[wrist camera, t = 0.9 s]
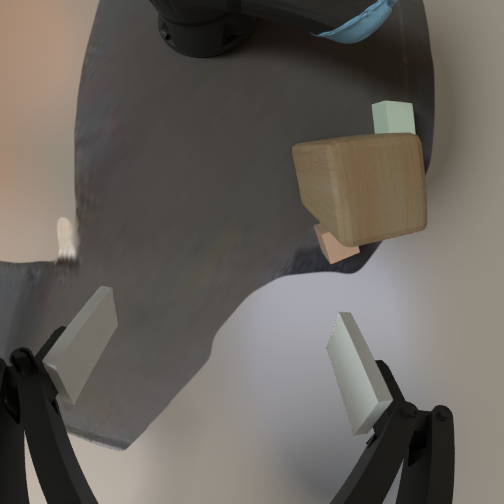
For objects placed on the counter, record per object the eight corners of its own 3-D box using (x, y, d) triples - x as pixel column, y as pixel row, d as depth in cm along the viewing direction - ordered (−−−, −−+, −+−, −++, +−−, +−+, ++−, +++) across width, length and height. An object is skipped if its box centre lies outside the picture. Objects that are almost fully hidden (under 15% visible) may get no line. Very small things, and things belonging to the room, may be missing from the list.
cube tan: (313, 225, 44) (321, 234, 39) (341, 214, 43) (352, 222, 39) (322, 252, 46) (330, 264, 41) (349, 241, 45) (359, 252, 40)
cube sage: (371, 104, 37) (385, 100, 32) (396, 106, 37) (412, 103, 32) (374, 133, 38) (389, 132, 34) (399, 134, 38) (415, 134, 34)
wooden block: (350, 135, 39) (423, 131, 20) (359, 196, 42) (431, 232, 23) (289, 144, 39) (327, 140, 20) (301, 207, 43) (343, 253, 24)
